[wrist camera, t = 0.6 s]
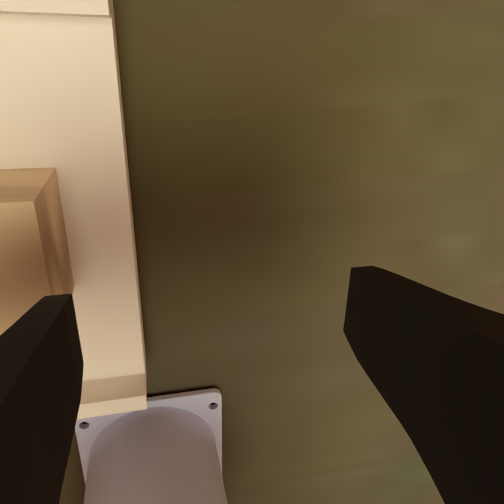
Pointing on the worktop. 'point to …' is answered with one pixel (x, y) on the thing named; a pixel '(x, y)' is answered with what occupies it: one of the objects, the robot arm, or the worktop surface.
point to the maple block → (31, 242)
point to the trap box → (80, 176)
